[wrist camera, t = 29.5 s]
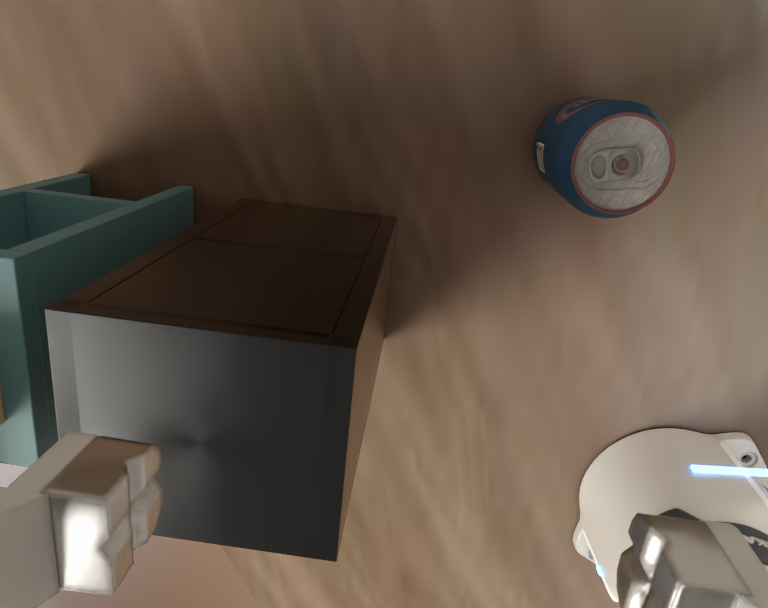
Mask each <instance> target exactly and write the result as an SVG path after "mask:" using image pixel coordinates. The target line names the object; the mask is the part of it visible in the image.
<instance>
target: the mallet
mask: <svg viewBox="0 0 768 608" xmlns="http://www.w3.org/2000/svg"><path fill="white" fill-rule="evenodd" d="M4 422H5V415H4V408H3V402H2V395H1V388H0V425H1V424H3V423H4Z"/></svg>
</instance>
